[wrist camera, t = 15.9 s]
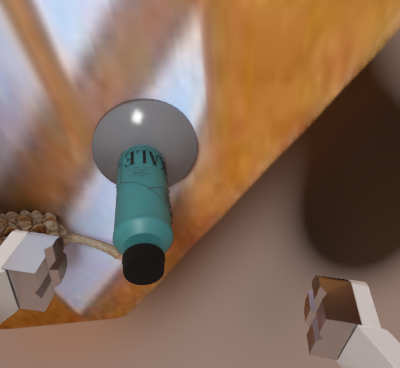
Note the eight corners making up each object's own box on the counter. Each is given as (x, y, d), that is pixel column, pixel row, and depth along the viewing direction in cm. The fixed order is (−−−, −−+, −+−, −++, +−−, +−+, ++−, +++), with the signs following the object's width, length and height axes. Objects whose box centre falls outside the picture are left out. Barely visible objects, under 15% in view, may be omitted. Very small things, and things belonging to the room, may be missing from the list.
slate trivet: (121, 198, 56) (121, 203, 55) (72, 122, 47) (71, 126, 46) (209, 166, 55) (210, 171, 54) (174, 82, 46) (175, 86, 45)
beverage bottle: (132, 183, 53) (130, 304, 38) (107, 147, 49) (94, 267, 33) (173, 165, 52) (189, 282, 37) (152, 128, 48) (160, 241, 33)
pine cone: (-21, 239, 57) (-45, 294, 49) (-29, 191, 52) (-58, 244, 44) (125, 246, 63) (124, 296, 55) (131, 203, 57) (131, 252, 49)
